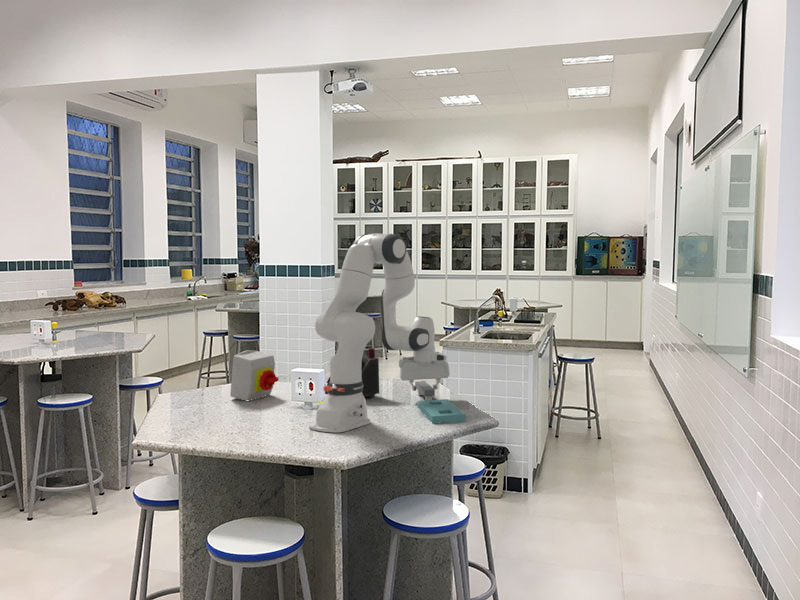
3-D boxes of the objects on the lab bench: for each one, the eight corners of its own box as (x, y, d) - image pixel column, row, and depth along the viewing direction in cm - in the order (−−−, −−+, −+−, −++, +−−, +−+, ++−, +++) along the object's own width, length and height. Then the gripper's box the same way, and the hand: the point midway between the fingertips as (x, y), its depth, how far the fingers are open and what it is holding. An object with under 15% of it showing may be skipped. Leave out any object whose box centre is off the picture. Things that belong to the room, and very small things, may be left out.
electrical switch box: (256, 408, 256) (260, 360, 254) (229, 399, 264) (233, 352, 261) (280, 401, 269) (284, 355, 266) (254, 392, 276) (258, 347, 274)
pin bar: (434, 403, 250) (434, 389, 250) (424, 404, 249) (424, 390, 249) (424, 393, 268) (424, 380, 267) (415, 394, 267) (415, 381, 266)
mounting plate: (465, 421, 222) (465, 414, 222) (432, 423, 220) (432, 416, 220) (447, 405, 246) (447, 399, 246) (417, 407, 244) (417, 401, 243)
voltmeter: (324, 397, 265) (323, 349, 264) (355, 391, 276) (354, 345, 275) (348, 403, 253) (346, 353, 252) (379, 396, 264) (378, 349, 263)
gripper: (400, 358, 252) (401, 393, 253) (450, 356, 256) (450, 390, 257) (397, 356, 258) (398, 389, 259) (446, 353, 262) (446, 386, 263)
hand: (424, 389), depth 258 cm, fingers open, 7 cm apart
